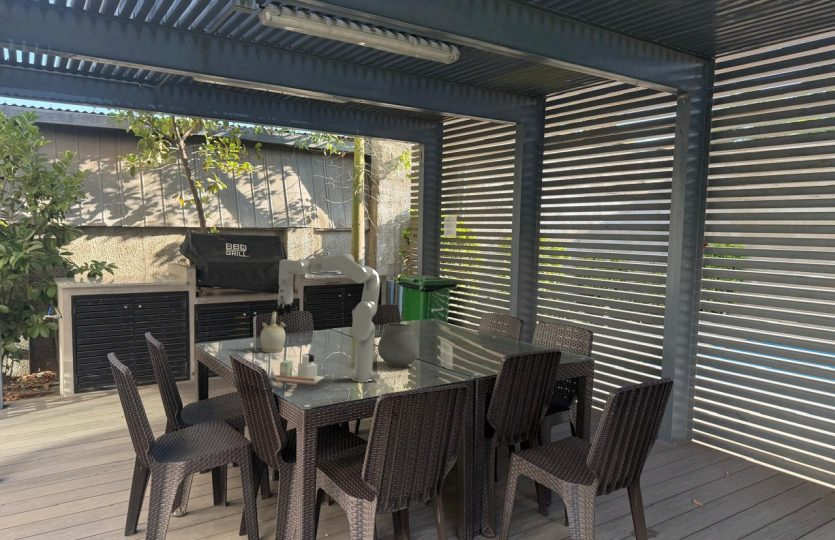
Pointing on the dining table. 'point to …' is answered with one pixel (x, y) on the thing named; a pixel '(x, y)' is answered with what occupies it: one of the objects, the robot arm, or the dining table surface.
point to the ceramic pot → (398, 345)
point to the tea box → (286, 368)
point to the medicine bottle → (307, 367)
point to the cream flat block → (298, 379)
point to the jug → (273, 336)
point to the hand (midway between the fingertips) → (284, 314)
